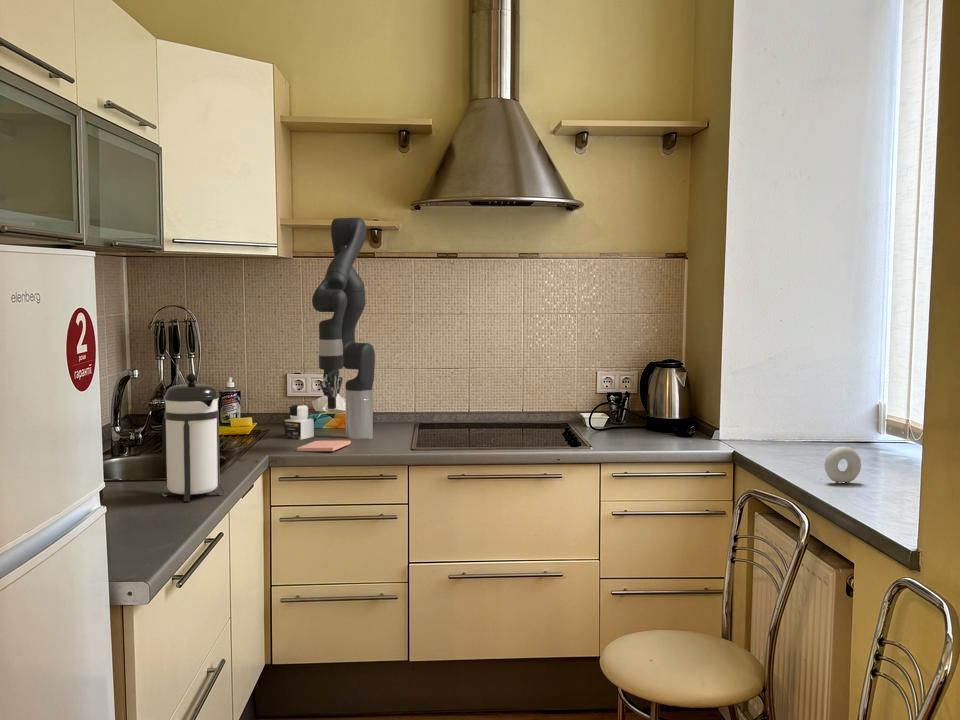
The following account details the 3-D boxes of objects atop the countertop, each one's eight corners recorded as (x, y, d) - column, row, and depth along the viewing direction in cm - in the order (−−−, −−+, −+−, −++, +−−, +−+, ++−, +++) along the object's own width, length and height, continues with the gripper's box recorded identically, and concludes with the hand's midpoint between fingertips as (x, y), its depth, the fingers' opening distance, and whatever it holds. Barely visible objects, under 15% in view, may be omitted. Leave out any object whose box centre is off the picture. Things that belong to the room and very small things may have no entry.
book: (316, 440, 279) (350, 440, 277) (316, 444, 279) (350, 443, 277) (296, 448, 266) (332, 447, 263) (297, 451, 266) (333, 451, 263)
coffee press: (232, 487, 219) (231, 370, 217) (215, 502, 203) (213, 376, 201) (164, 488, 219) (161, 370, 216) (141, 503, 203) (138, 376, 200)
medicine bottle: (284, 440, 291) (283, 405, 291) (297, 437, 298) (297, 403, 297) (300, 442, 288) (300, 407, 287) (314, 439, 294) (314, 404, 294)
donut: (855, 481, 232) (857, 445, 231) (863, 484, 229) (864, 447, 228) (821, 482, 231) (822, 445, 230) (828, 485, 227) (829, 448, 226)
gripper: (333, 355, 260) (334, 412, 262) (350, 352, 273) (351, 406, 274) (310, 355, 262) (312, 411, 263) (328, 351, 274) (329, 405, 276)
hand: (332, 408), depth 269 cm, fingers closed
